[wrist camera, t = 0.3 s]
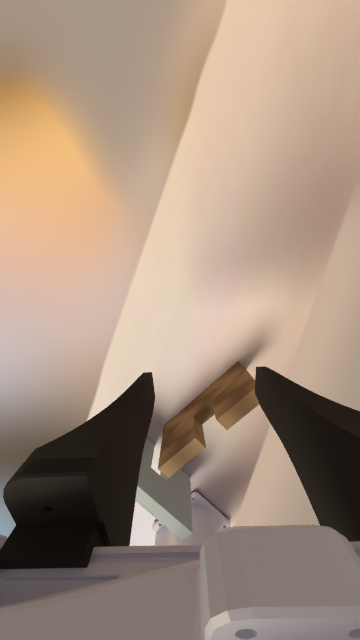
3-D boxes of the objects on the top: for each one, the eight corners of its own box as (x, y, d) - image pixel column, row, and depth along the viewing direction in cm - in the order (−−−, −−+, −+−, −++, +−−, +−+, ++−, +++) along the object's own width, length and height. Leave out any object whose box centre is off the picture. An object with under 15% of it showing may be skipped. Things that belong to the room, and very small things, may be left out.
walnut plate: (171, 433, 24) (168, 478, 18) (163, 426, 24) (158, 468, 18) (245, 369, 23) (268, 396, 17) (238, 361, 23) (258, 385, 17)
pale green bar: (182, 483, 26) (182, 540, 20) (124, 432, 24) (106, 476, 18) (190, 477, 25) (192, 532, 19) (132, 425, 24) (116, 467, 18)
